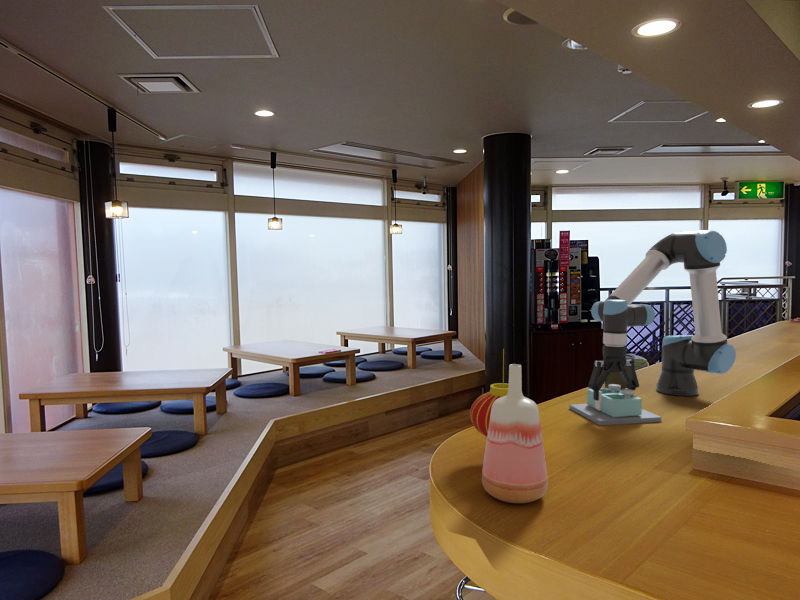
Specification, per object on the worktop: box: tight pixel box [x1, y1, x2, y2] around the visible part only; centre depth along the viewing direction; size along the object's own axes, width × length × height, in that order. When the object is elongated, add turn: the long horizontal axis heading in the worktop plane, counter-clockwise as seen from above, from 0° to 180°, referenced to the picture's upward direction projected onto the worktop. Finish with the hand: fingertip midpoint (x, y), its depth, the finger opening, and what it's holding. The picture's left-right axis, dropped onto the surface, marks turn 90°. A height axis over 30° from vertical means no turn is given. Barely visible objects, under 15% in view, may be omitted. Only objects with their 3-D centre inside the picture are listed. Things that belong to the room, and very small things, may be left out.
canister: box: [602, 349, 636, 390], centre depth 198 cm, size 11×10×20 cm
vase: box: [481, 363, 549, 504], centre depth 117 cm, size 14×14×30 cm
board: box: [569, 384, 662, 426], centre depth 180 cm, size 22×20×9 cm
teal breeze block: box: [586, 387, 643, 417], centre depth 180 cm, size 10×16×6 cm, turn 10°
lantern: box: [469, 348, 509, 438], centre depth 138 cm, size 17×17×30 cm
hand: (613, 408), depth 180 cm, fingers open, 10 cm apart
